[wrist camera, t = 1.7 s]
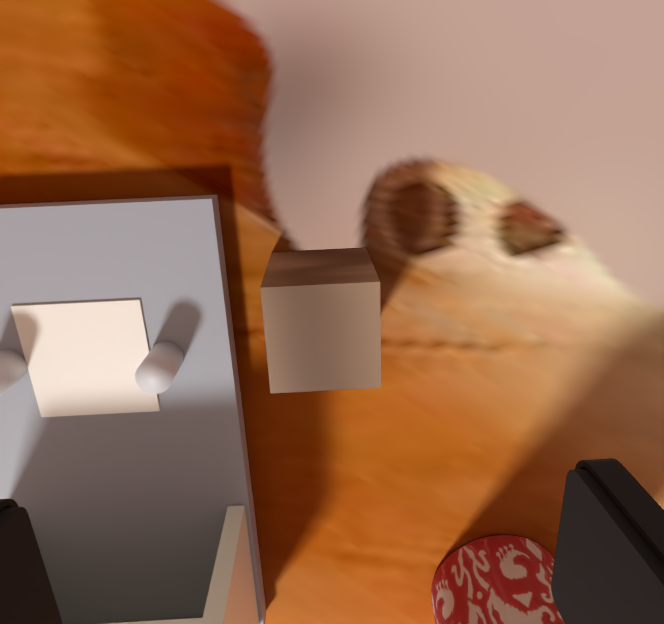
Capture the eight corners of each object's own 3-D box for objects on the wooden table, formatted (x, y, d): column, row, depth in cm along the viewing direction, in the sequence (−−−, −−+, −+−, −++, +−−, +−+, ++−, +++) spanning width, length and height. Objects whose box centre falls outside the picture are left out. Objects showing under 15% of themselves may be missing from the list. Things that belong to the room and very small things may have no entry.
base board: (217, 194, 21) (200, 206, 18) (266, 610, 29) (260, 667, 26) (-183, 213, 21) (-269, 228, 18) (-21, 627, 29) (-61, 686, 26)
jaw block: (366, 247, 22) (380, 281, 17) (367, 334, 23) (380, 387, 19) (271, 252, 22) (260, 287, 17) (279, 338, 23) (270, 393, 18)
